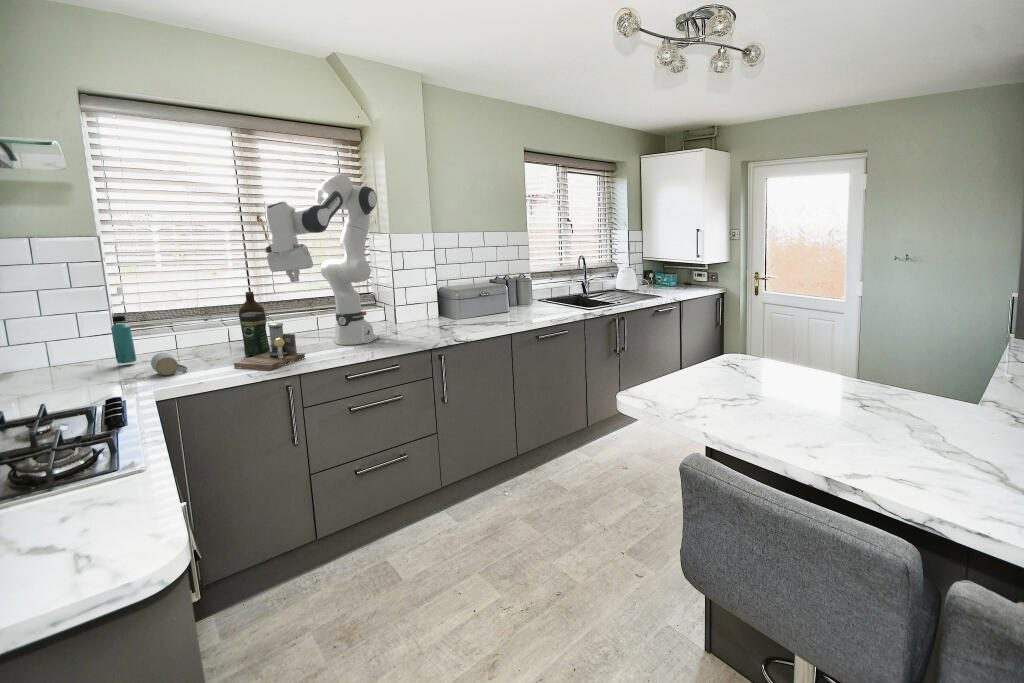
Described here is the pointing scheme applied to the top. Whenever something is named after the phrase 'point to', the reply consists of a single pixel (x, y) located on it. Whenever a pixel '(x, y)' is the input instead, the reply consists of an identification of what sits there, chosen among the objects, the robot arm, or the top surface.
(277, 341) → the capstan
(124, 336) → the beverage bottle
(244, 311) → the olive oil
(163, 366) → the ceramic mug
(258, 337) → the coffee jar
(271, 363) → the stand
